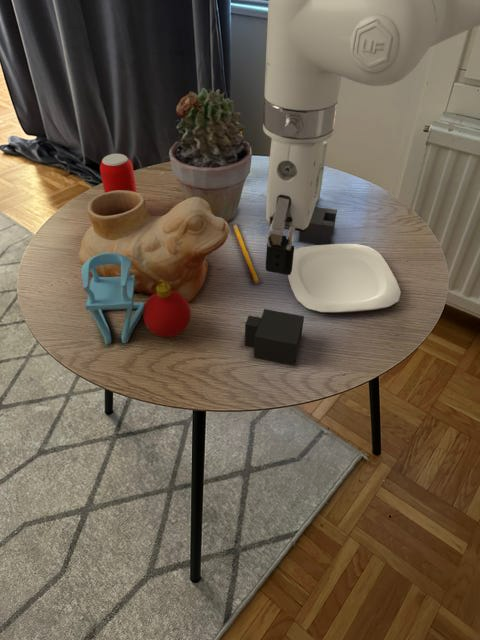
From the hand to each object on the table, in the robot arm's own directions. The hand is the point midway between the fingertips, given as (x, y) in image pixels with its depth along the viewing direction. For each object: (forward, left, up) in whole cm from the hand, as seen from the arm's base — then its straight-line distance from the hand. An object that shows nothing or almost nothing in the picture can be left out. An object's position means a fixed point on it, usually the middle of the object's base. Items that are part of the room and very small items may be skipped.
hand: (286, 249), depth 63 cm
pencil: (+11, -20, -17) cm, 28 cm away
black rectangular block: (0, +2, -16) cm, 16 cm away
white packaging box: (+5, -41, -17) cm, 44 cm away
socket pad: (-1, -29, -16) cm, 33 cm away
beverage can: (+38, -26, -17) cm, 49 cm away
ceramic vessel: (+24, -9, -17) cm, 30 cm away
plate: (-7, -16, -17) cm, 24 cm away
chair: (+25, +4, -17) cm, 30 cm away
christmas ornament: (+17, +3, -17) cm, 24 cm away
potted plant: (+21, -33, -17) cm, 42 cm away
